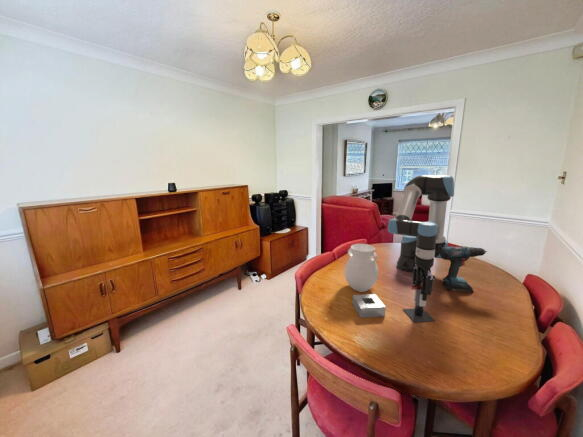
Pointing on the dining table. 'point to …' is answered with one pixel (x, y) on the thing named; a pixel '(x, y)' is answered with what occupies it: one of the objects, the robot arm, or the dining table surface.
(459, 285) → the power drill
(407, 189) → the robot arm
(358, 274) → the white vase
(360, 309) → the block
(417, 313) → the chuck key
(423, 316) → the mat
